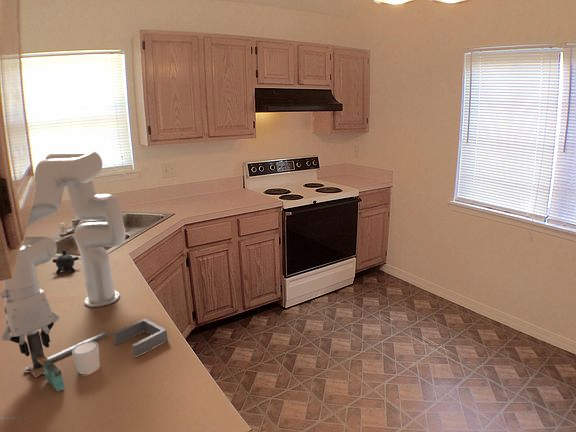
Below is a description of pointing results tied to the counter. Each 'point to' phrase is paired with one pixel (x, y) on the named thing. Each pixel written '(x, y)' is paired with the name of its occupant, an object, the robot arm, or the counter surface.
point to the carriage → (43, 362)
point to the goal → (134, 329)
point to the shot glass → (86, 357)
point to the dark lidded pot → (65, 262)
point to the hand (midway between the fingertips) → (36, 349)
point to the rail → (69, 350)
